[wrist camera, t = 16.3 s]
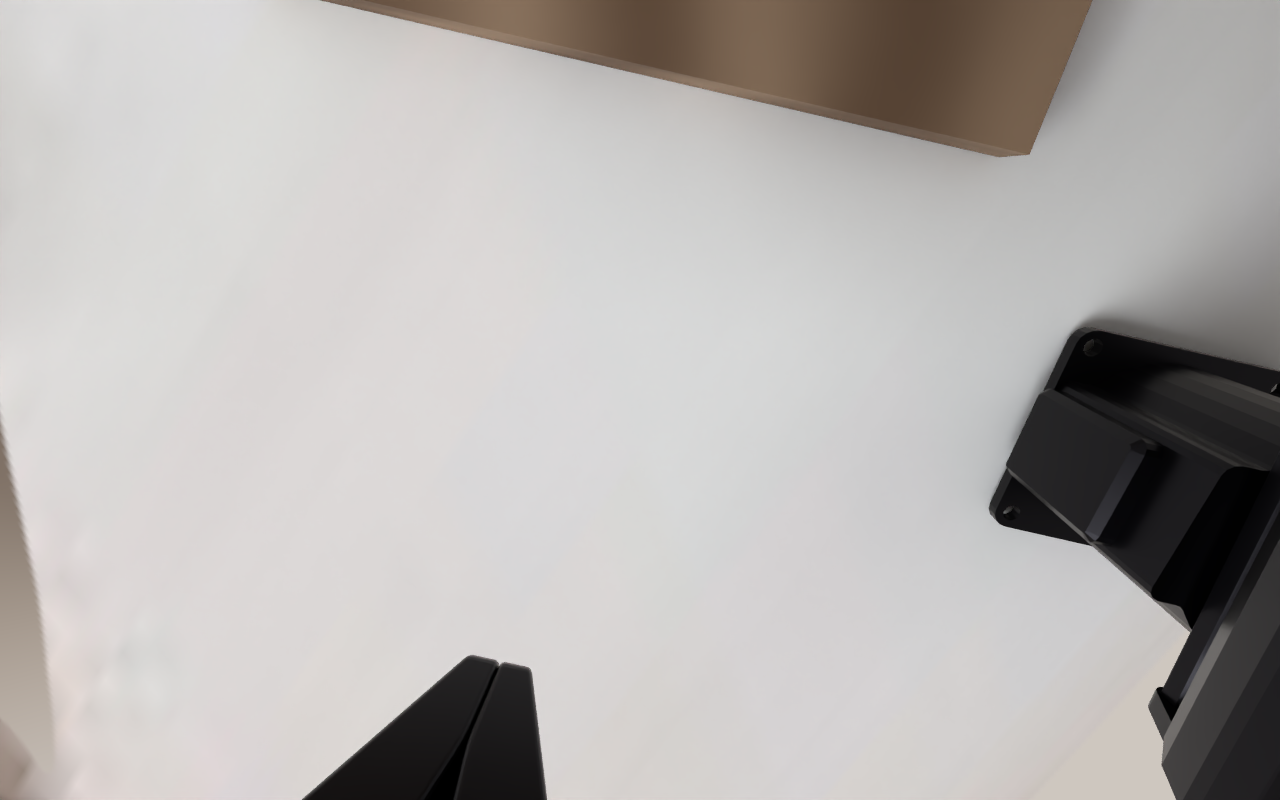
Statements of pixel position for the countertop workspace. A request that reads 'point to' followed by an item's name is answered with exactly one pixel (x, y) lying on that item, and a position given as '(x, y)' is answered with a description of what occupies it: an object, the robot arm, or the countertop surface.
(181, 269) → the countertop surface
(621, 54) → the bolt board
